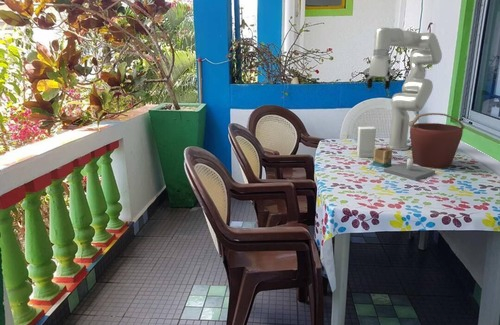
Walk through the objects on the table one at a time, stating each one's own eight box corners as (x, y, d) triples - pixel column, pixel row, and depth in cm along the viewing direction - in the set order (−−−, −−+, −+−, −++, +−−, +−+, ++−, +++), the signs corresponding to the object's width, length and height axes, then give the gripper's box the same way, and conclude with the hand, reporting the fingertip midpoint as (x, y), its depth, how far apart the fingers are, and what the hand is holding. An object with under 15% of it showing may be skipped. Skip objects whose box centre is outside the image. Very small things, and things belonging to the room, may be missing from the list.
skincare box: (371, 154, 207) (374, 126, 203) (374, 157, 201) (376, 128, 196) (356, 154, 208) (358, 126, 204) (358, 157, 201) (360, 128, 197)
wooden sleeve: (380, 162, 191) (381, 147, 189) (391, 165, 187) (392, 149, 184) (372, 164, 188) (374, 149, 186) (383, 167, 183) (385, 151, 181)
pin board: (402, 165, 186) (404, 152, 184) (434, 173, 173) (436, 159, 172) (383, 171, 177) (384, 158, 175) (415, 180, 164) (417, 166, 163)
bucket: (402, 165, 186) (407, 114, 179) (407, 155, 205) (412, 109, 198) (458, 172, 175) (466, 118, 168) (458, 161, 194) (466, 112, 187)
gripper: (401, 53, 188) (397, 88, 192) (369, 53, 200) (366, 87, 205) (393, 53, 183) (390, 89, 188) (362, 53, 195) (359, 87, 200)
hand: (378, 88), depth 196 cm, fingers open, 9 cm apart
